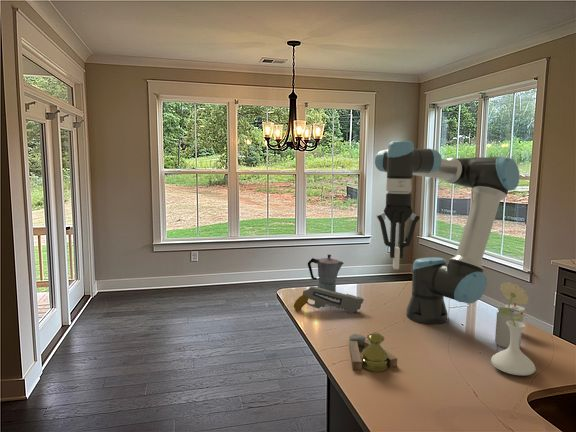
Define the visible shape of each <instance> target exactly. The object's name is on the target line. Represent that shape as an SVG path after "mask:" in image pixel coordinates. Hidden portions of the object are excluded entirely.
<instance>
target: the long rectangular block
mask: <svg viewBox="0 0 576 432" xmlns="http://www.w3.org/2000/svg"><path fill="white" fill-rule="evenodd" d="M370 344H371V342H370V341H369V340H368V339H367V340H365V341H364V347H363V348H362V349H364V348H366V347H367V346H369V345H370ZM386 351H387V352H388V358H387V360H388V367H389V369H390V368H391V369H392V368H396V367H398V357H397V356H395V355H393V354H392V353H390V352H389V351H388V350H386Z"/></svg>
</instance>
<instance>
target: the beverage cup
mask: <svg viewBox="0 0 576 432" xmlns="http://www.w3.org/2000/svg"><path fill="white" fill-rule="evenodd" d="M508 306H509V304H506V305H504V308H508ZM509 308H513V309H517V310H519V311H520V312H521V315H524V313H525V311H526V308H525V307H524V306H521V305H518V304H516V303H513V304H512V303H510V307H509Z"/></svg>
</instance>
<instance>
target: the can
mask: <svg viewBox="0 0 576 432" xmlns="http://www.w3.org/2000/svg"><path fill="white" fill-rule="evenodd" d="M504 308H505V307H504ZM505 309H506V310H508V308H505ZM509 310H510V313H511V316H512V318H514V317H516V316H518V315H521V312H520V311H519V310H517V309H513V308H509ZM511 316H510V314H508V315H506V314H504V313H502V312H500V311H497V312H496V320H495V321H496V324H495V337H494V343H496V344H497V345H498V346H499V347H500V348H502V349H504V350H505V349H507V348H508V347H509V345H510V330H509V327H508V325H507V324H506V322H507V321H512V319H511ZM523 319H524V318H523V317H522V318H519V319H513V320H514V321H518V322H522V323H524V322H523ZM522 333H523V332H521V334H520V338H519V348H520V347H521V345H522Z"/></svg>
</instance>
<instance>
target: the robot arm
mask: <svg viewBox="0 0 576 432" xmlns="http://www.w3.org/2000/svg"><path fill="white" fill-rule="evenodd" d="M414 146H415V145H414V142H413V141H411V140H397V141H395V140H394V141H391V142H390V141H389V143H388V148H387V149H384V150H380V151H378V152H377V153H376V155H375V158H374V165H375V167H376V169H377V170H378V171H379V172H384V173H386V187H385V188H386V194H385V208H384V209H383V212H381V213H379V214H376V219H377V220H378V221H379V225H380V230H381V233H382V234H381V235H382V239H383V243H384V245H385V246H386V247H389V257H390V258H391V259H392V268H393V270H399V269H400V259H403V258H404V248H407V247H410V245H411V241H412V238H413V235H414V231H415V228H416V226H417V224H418V222H419V220H420V216H419V215H418V214H416V213H414V212H413V209H412V195H413V194H412V193H411V192H412V191H413V176H417V177H423V178H431V179H438V180H442V181H444V182H445V183H447V184H452V185H456V186H462V187H465V188H470V189H471V190H472V192H473V193H474V197H473V199H472V203H471V206H470V209H469V213H468V216H467V219H466V223H465V226H464V228H463V232H462V235H461V238H460V241H459V243H458V244H459V245H458V247H457V250H456V253H455V256H452V257H450V258H449V260H448V261H449V262H448V263H447V261H446V259H445V258H444V257H435V256H434V257H420V258H417V259H415V260H414V261H413V266H412V278H411V279H412V281H411V283H412V284H411V285H412V287H411V297H410V300H409V302H408V305H407V307H406V313H405V314H406V317H408V318H409V319H410V320H412V321H415V322H419V323H421V324H423V323H424V324H429V325H431V324H433V325H436V324H443V323H445V322H447V321H448V311H447V307H446V304H445V303H446V302H445V299H444V297H445V298H448V299H451V300H454V301H456V302H459V303H464V304H474V303H476V302H478V301H479V300H480V299H481V298H482V297H483V296H484V294H485V292H486V290H487V287H488V283H487V281H488V279H487V276H486V274H485V273H484V270H485V269H484V266H483V265H482V260H483V257H484V254H485V251H486V249H487V248H486V247H487V245H488V241H489V238H490V235H491V231H492V229H493V225H494V222H495V220H496V219H495V218H496V215H497V212H498V209H499V206H500V204H501V203H500V202H501V201H502V200H504V199H506V198H507V196H508V192H511V191H514V190H516V188H517V187H518V186H519V182H520V170H519V166H518V164H517V162H516V161H515V160H514V159H512V158H511V157H503V156H497V157H496V156H495V157H493V156H492V157H489V156H488V157H487V156H486V157H485V156H484V157H462V158H458V157H457V158H455V157H450V158H449V157H448V158H442V155H441V153H440V152H439V151H438V150H437V149H433V148H415V147H414ZM409 218H410V219H409ZM386 219H388V221H389V222H390V223H389V225H390V232H389V233H390V234H389V235H388V230H387V225H386V222H385V220H386ZM408 220H410V222H409V225H408V229H407V232H406V235H405V226H406V223H407V222H408ZM397 223H398V240H397V241H398V242H397V243H398V246H396V238H397V237H396V234H397V233H396V232H397V230H396V229H397ZM389 236H390V237H389Z"/></svg>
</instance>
